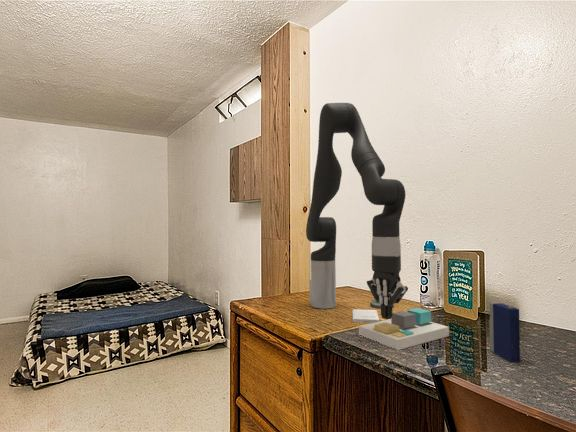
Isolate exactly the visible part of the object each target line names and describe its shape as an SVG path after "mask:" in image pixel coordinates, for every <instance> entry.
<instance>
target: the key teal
mask: <svg viewBox="0 0 576 432" xmlns="http://www.w3.org/2000/svg"><path fill="white" fill-rule="evenodd" d="M406 312H409V313H412V314H415V315H416V323H418V324H423V323H428V322H432V311H431V310H427V309H425V308H420V307H415V308H410V309H407V311H406Z"/></svg>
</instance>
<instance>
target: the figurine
mask: <svg viewBox="0 0 576 432" xmlns="http://www.w3.org/2000/svg"><path fill="white" fill-rule="evenodd" d="M382 292H383V291H382ZM377 295H378V294H377ZM378 296H379V295H378ZM369 306H370V308H373V309H376V310H377V309H378V310H381V304H380V302H379V301H378V300H375V299H373V300H370V302H369ZM393 308H395V304H393V305H392V309H393Z"/></svg>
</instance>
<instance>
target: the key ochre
mask: <svg viewBox="0 0 576 432" xmlns="http://www.w3.org/2000/svg"><path fill="white" fill-rule="evenodd" d="M374 330H375V331H378V332H381V333H383V334H386V335H388V334H391V333H395V332H399V326H397V325H394V324H391V323H387V322H385V323H380V324H376V325H374Z"/></svg>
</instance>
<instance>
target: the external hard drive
mask: <svg viewBox="0 0 576 432" xmlns="http://www.w3.org/2000/svg"><path fill="white" fill-rule="evenodd" d="M352 322H353V323H368V324H371V323H376V322H380V318H379V314H378V311H377V309H376V310H375V309H360V308H359V309H358V308H357V309H356V308H355V309H352Z"/></svg>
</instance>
